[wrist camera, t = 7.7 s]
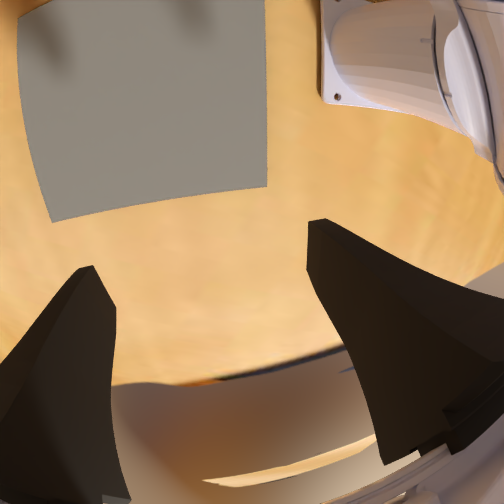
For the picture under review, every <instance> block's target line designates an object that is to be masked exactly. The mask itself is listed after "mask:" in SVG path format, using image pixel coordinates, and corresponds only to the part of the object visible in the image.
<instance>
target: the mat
mask: <svg viewBox="0 0 504 504" xmlns="http://www.w3.org/2000/svg"><path fill="white" fill-rule="evenodd" d="M17 63H18V79H19V89H20V98H21V106H22V112H23V119H24V124H25V130H26V135H27V140H28V144H29V149H30V153H31V157H32V161H33V165H34V168H35V172H36V176H37V179H38V182H39V186H40V189H41V192H42V195H43V198H44V201H45V204H46V207H47V210H48V213H49V216H50V218H51V221H52V223H54V222H58V221H62V220H66V219H71V218H75V217H79V216H84V215H88V214H93V213H98V212H103V211H108V210H112V209H118V208H123V207H128V206H133V205H139V204H145V203H150V202H156V201H162V200H168V199H175V198H181V197H188V196H195V195H202V194H209V193H217V192H225V191H233V190H242V189H251V188H260V187H267V93H266V40H265V4H264V0H52V1H50V2H48V3H46V4H44V5H42V6H40V7H38V8H36V9H34V10H32V11H30V12H29V13H27V14H25V15H23V16H21V17H20V18H18V26H17Z"/></svg>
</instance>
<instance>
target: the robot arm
mask: <svg viewBox="0 0 504 504" xmlns="http://www.w3.org/2000/svg"><path fill="white" fill-rule="evenodd" d="M320 3H321V42H322V66H321V98H322V100H323V101H324V102H325V103H328V104H338V105H349V106H359V107H368V108H375V109H383V110H389V111H395V112H401V113H407V114H412V115H415V116H418V117H421V118H424V119H426V120H429V121H432V122H434V123H437V124H439V125H442V126H444V127H447V128H449V129H451V130H454V131H456V132H458V133H461V134H463V135H465V136H467V137H469V138H470V139H471V141H472V143H473V145H474V150H475V153H476V154H477V155H479V156H481V157H483V158H484V159H486V160H488V161H490V162H491V163H493V167H494V175H495V179H496V182H497V184H498V186H499V189H500V190H501V192H502V193H503V195H504V0H388V1H383V2H378V3H372V2H369V1H366V0H338V2H337V1H335V0H320ZM336 93H337V94H338V99H337V100H335V99H334V95H335V94H336ZM306 270H307V272H308V275H309V277H310V280H311V282H312V285H313V287H314V290H315V292H316V294H317V296H318V298H319V300H320V302H321V303H322V305H323V307H324V309H325V311H326V312H327V314H328V316H329V318H330V320H331V321H332V323H333V325H334V327H335V328H336V330H337V332H338V334H339V336H340V338H341V339H342V341H343V343H344V345H345V347H346V349H347V351H348V353H349V355H350V357H351V360H352V362H353V365H354V368H355V370H356V373H357V376H358V378H359V381H360V384H361V387H362V389H363V393H364V395H365V398H366V401H367V405H368V408H369V412H370V415H371V419H372V422H373V425H374V430H375V434H376V439H377V443H378V448H379V453H380V457H381V459H382V462H383V464H384V465H387V464H390V463H392V462H394V461H396V460H399V459H401V458H403V457H405V456H407V455H409V454H411V453H413V452H414V451H416V450H418V451H419V453H420V456H421V457H420V458H419V459H417V460H415V461H414V462H412V463H410V464H408V465H407V466H405V467H403V468H401V469H400V470H398V471H396V472H394V473H392V474H390V475H388V476H386V477H384V478H382V479H380V480H378V481H376V482H374V483H372V484H369V485H367V486H365V487H363V488H360V489H358V490H355V491H353V492H351V493H348V494H346V495H343V496H341V497H338V498H335V499H332V500H329V501H326V502H323V503H320V504H504V299H502V298H498V297H494V296H491V295H488V294H484V293H481V292H477V291H474V290H471V289H468V288H465V287H463V286H460V285H457V284H455V283H452V282H449V281H447V280H444V279H442V278H440V277H437V276H435V275H433V274H430V273H428V272H426V271H424V270H422V269H419V268H417V267H415V266H413V265H411V264H409V263H407V262H405V261H403V260H401V259H399V258H397V257H396V256H394V255H392V254H390V253H388V252H386V251H384V250H382V249H381V248H379V247H377V246H375V245H373V244H372V243H370V242H368V241H366V240H365V239H363V238H361V237H359V236H358V235H356V234H354V233H352V232H351V231H349V230H347V229H345V228H344V227H342V226H340V225H338V224H336V223H334V222H332V221H330V220H328V219H326V218H325V219H319V220H314V221H308V247H307V268H306ZM115 339H116V306H115V304H114V303H113V301H112V299H111V298H110V296H109V294H108V292H107V290H106V289H105V287H104V285H103V283H102V281H101V279H100V277H99V276H98V274H97V272H96V270H95V268H94V266H93V265H91V266H87V267H83V268H79V269H78V270H76V271H75V272H74V273H73V274H72V275H71V277H70V278H69V279H68V280H67V281H66V282H65V283H64V285H63V286H62V287H61V288H60V290H59V291H58V292H57V293H56V295H55V296H54V297H53V298H52V300H51V301H50V302H49V304H48V305H47V306H46V307H45V309H44V310H43V311H42V313H41V314H40V315H39V317H38V318H37V319H36V320H35V322H34V323H33V324H32V326H31V327H30V328H29V330H28V331H27V332H26V334H25V335H24V336H23V337H22V339H21V340H20V341H19V342H18V344H17V345H16V346H15V347H14V349H13V350H12V351H11V352H10V353H9V354H8V356H7V357H6V358H5V359H4V360H3V362H2V363H1V364H0V504H103V503H107V504H129V503H130V501H131V497H130V495H129V492H128V489H127V486H126V483H125V480H124V477H123V474H122V471H121V467H120V463H119V458H118V454H117V450H116V445H115V438H114V433H113V432H114V431H113V424H112V413H111V380H112V368H113V358H114V348H115ZM405 491H406V493H405V495H401V496H398V495H400V494H402V493H404V492H405ZM396 496H398V497H396Z"/></svg>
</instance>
